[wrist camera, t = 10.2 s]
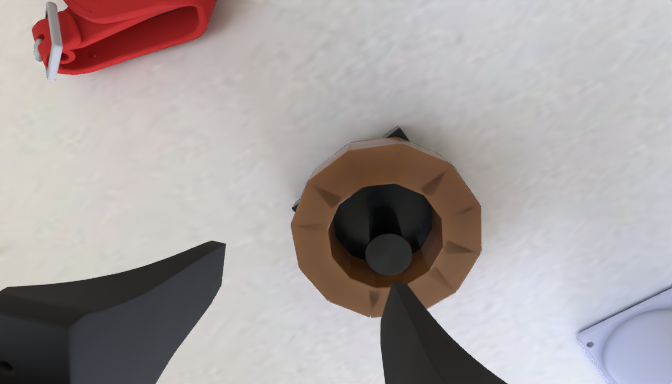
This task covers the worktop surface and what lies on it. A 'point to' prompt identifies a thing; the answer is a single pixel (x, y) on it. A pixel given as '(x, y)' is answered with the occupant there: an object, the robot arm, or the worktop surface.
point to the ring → (427, 263)
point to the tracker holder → (113, 31)
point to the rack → (383, 223)
